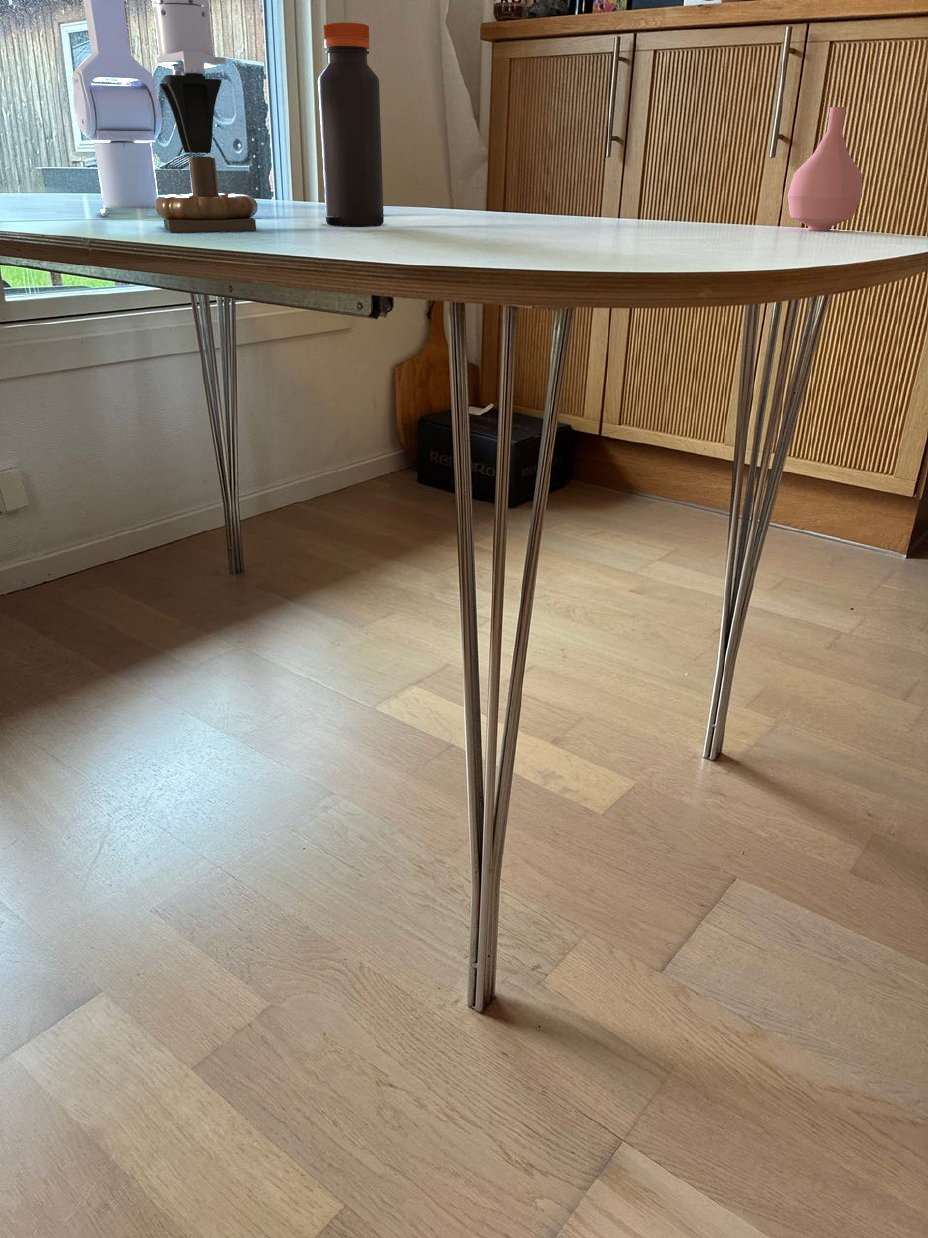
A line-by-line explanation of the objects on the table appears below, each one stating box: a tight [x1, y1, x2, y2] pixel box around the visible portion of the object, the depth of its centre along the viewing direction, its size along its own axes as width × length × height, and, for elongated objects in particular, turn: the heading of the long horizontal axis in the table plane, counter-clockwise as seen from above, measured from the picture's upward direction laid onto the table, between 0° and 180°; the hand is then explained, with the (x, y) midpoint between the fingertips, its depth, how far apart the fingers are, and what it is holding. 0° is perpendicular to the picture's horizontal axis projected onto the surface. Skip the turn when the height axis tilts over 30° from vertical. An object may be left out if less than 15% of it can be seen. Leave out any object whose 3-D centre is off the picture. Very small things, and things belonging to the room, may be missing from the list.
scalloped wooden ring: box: [155, 193, 259, 220], centre depth 103 cm, size 11×11×2 cm
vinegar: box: [317, 22, 385, 228], centre depth 106 cm, size 7×7×20 cm
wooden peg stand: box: [163, 156, 257, 234], centre depth 102 cm, size 9×9×7 cm
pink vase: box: [787, 106, 863, 232], centre depth 102 cm, size 8×8×12 cm
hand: (197, 152), depth 104 cm, fingers open, 7 cm apart
